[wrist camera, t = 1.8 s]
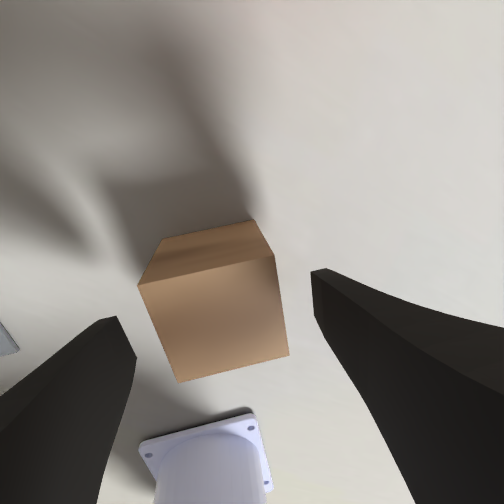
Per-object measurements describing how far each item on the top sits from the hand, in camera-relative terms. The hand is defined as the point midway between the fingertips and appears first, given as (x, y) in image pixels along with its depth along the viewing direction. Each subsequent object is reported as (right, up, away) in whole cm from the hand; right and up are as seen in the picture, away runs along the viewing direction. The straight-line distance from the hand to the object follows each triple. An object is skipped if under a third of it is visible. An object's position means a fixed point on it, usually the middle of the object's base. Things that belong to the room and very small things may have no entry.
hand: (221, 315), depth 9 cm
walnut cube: (-1, +1, +4) cm, 4 cm away
